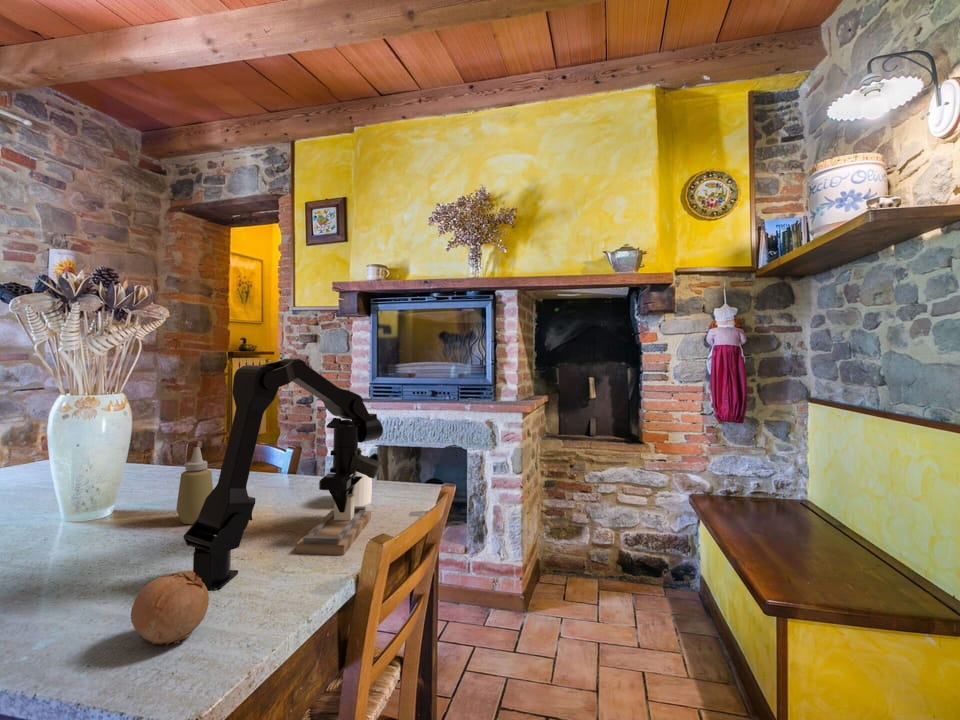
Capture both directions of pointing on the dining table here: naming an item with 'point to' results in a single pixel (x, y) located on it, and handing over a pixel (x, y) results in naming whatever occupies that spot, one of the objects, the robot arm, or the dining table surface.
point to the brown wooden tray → (334, 534)
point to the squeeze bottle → (193, 488)
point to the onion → (170, 607)
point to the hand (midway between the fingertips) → (344, 510)
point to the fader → (348, 510)
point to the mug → (362, 491)
